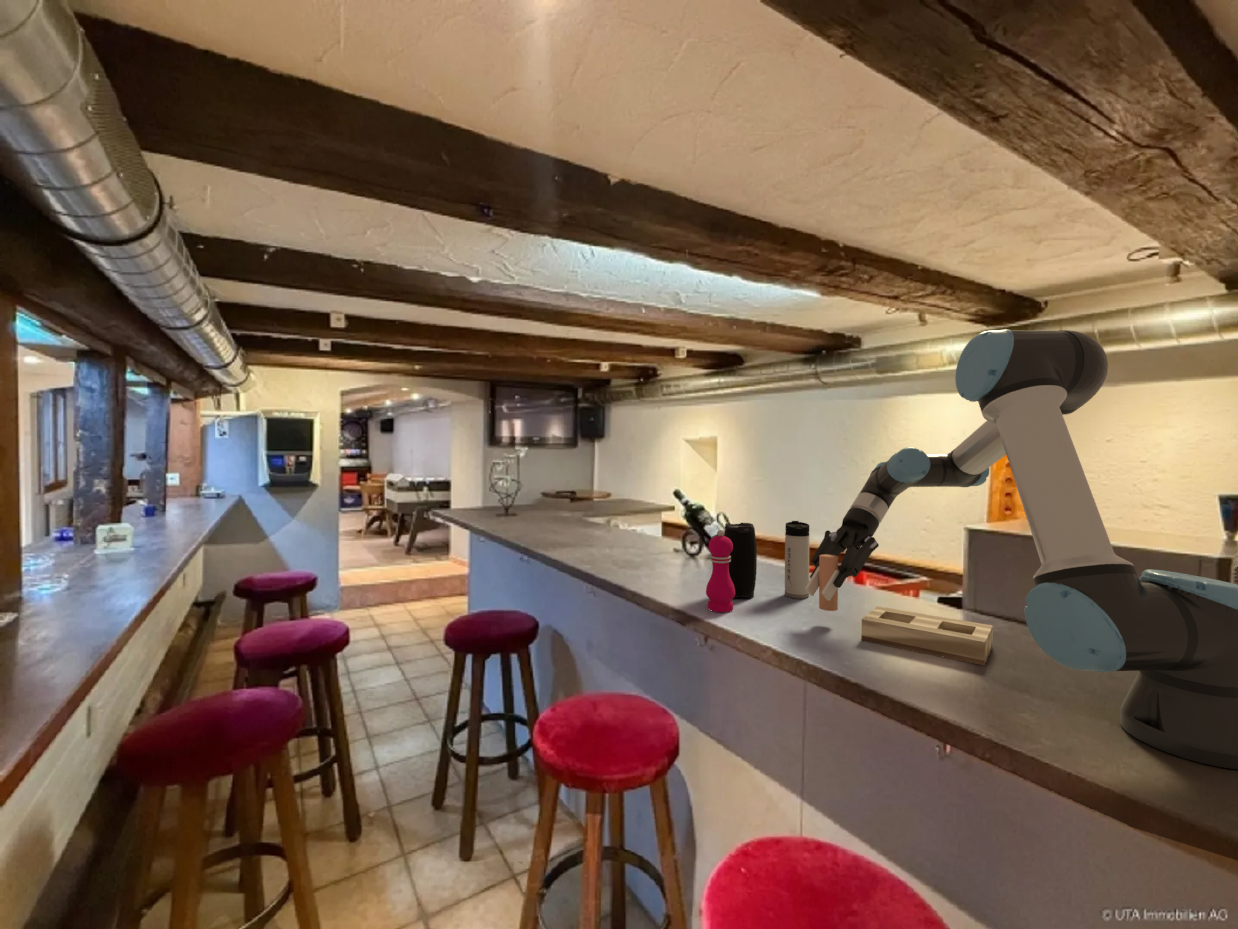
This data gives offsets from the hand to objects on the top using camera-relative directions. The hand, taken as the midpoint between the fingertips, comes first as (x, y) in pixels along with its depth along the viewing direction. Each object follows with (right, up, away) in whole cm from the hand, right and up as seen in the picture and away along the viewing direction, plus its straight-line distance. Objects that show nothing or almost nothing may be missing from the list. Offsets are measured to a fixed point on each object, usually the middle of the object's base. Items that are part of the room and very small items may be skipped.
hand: (817, 594), depth 128 cm
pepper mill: (-19, -7, +14) cm, 25 cm away
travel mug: (+4, -7, +26) cm, 27 cm away
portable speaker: (-12, -7, +26) cm, 30 cm away
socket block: (+19, -8, -10) cm, 23 cm away
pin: (+3, -4, +2) cm, 5 cm away
